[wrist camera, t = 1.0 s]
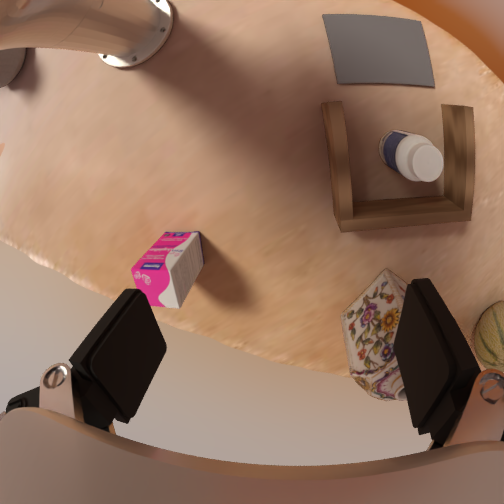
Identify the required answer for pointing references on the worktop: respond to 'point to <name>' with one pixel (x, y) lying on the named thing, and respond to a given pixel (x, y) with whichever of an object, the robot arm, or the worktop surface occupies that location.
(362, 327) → the decorative jar
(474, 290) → the worktop surface
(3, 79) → the coffee pot
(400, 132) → the pill bottle
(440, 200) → the open box
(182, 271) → the supplement box
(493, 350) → the cantaloupe
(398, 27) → the mat
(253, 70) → the worktop surface
